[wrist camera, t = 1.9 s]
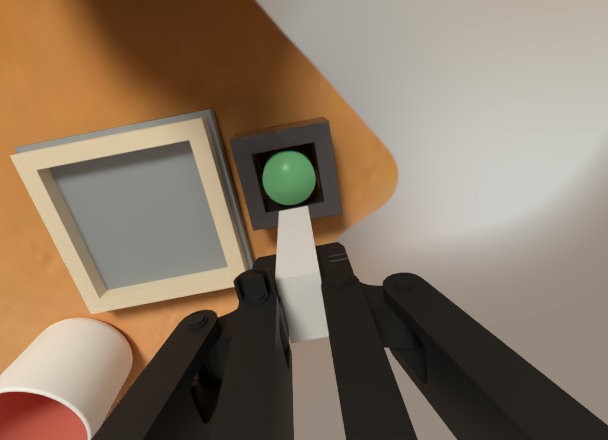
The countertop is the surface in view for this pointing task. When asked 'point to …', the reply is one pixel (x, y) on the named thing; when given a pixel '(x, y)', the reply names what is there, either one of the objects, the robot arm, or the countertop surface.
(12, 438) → the cup
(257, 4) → the countertop surface
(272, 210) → the dark grey square box
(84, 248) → the tray
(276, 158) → the button
